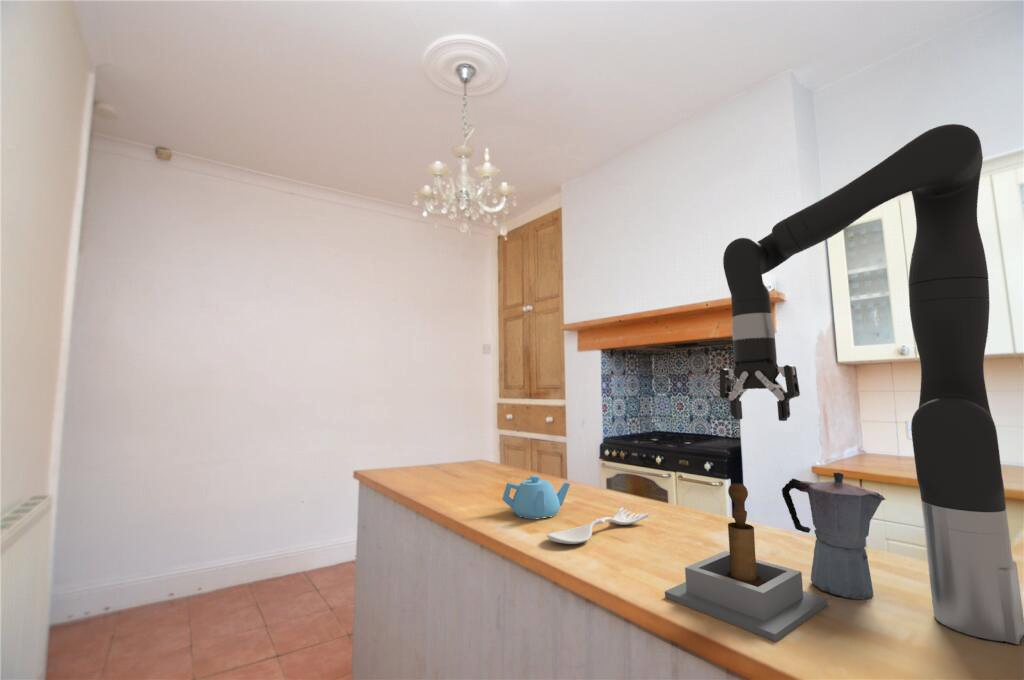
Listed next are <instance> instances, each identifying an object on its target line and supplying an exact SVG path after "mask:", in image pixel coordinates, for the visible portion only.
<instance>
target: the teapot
mask: <svg viewBox="0 0 1024 680" xmlns="http://www.w3.org/2000/svg"><path fill="white" fill-rule="evenodd" d="M540 478H541V476H540V475H535V474H534V475H531V476H530V477H526V479H525V480H523V481H521V482H520V484H518V483H512V482H511V483H510V482H506V485H505V489H504V491H503V495H502V501H503V502H504V503H506V504H507V505H508V507H510V508H511V509H512V511H513V513H514V514H515V515H516V516H517V515H518V516H521V517H526V518H543V517H550V516H553V515H555V514H556V515H558V513H559V511H560V509H561V507H562V506H563V504H564V501H565V499H566V496H567V493H568V490H569V488H570V485H571V483H570V482H563V484H562V485H561V487H560V488H559V490H558V492H556V490H555V488H554V487H553V485H552V483H551V482H550V481H548V480H546V479H545V480H544V479H540ZM511 489H512V490H513V489H514V490H515V493H514V494H513V498H512V497H510V495H511V491H512V490H511ZM556 515H555V516H556ZM518 516H517V517H518ZM521 517H520V518H521Z"/></svg>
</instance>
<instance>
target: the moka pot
mask: <svg viewBox="0 0 1024 680" xmlns="http://www.w3.org/2000/svg"><path fill="white" fill-rule="evenodd" d="M832 474H833V478H834V481H818V482H812V481H806V480H799V479H797V478H791V479H790V480H789V481H788V483H786V484H784V486H783V487H782V488H781V493H782V494H781V495H782V498H783V499H784V503H785V505H786V506H787V510H788V513H789V515H790V516H791V517H790V518H791V520H792V523H793V526H794V528H795V530H797V531H801V532H803V533H808V534H809V533H810V532H811V530H812V529H811V528H810V527H809V526H804V525H802V524H801V521H800V519H799V517H798V514H797V511H796V508H795V504H794V502H793V498H792V495H791V493H790V491H791V490H793V489H795V490H798V492H802V493H807V495H808V500H809V505H810V506H809V507H810V511H811V512H810V513H811V518H812V525H813V527H814V535H815V538H816V539H815V543H814V548H813V558H812V565H811V566H812V567H811V571H810V572H811V573H810V581H811V582H812V584H813V585H814V586H816V587H817V588H818V589H820V590H822V591H824V592H826V593H829V594H832V595H835V596H839V597H842V598H847V599H852V600H867V599H870V598H871V597H872V596H873V595H874V589H873V583H872V577H871V571H870V566H869V561H868V560H869V559H868V554H867V550H866V549H865V547H866V546H867V545H866V538H867V537H869V535H870V534H869V533H870V524H871V520H872V519H873V518H874V516H875V514H876V512H877V510H878V508H879V506H880V505H881V503H882V501H885V500H886V498H885V497H884V495H882V494H880V493H879V492H876V491H872V490H869V489H866V488H865V487H861V486H859V485H854V484H850V483H846V482H844V481H843V480H844V475H845V474H843V473H841V472H837V471H836V472H833V473H832Z"/></svg>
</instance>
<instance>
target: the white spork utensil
mask: <svg viewBox="0 0 1024 680" xmlns="http://www.w3.org/2000/svg"><path fill="white" fill-rule="evenodd" d="M649 516H650V514H649V512H646V513H637V514H636V513H635V512H633V513H631V511H628V510H627V509H624V507H620V508H619V509H618V510H617V511H616V513H615V514H614V515H613V516H612V517H610V516H605V517H604V516H603V517H601V518H595V519H593V521H591V522H588V523H587V524H584V525H581V526H577V527H572V528H568V529H564V530H559V531H554V532H550V533H547V534H546V537H547V538H548V539H549V540H550V541H552V542H554V543H559V544H564V545H576V544H577V545H579V544H581V543H584V542H586V541H588V540H589V539H590V538H591V537H592V535H593V528H594V526H597V525H604V524H605V523H606V522H612V523H613V524H617V525H620V526H628V525H632V524H634V523H637V522H639V521H640V522H641V521H642V520H645V519H646V518H648V517H649Z"/></svg>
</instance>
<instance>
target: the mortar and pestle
mask: <svg viewBox="0 0 1024 680" xmlns="http://www.w3.org/2000/svg"><path fill="white" fill-rule="evenodd" d="M727 494H728V496H729V498H730V499H731V501H732V502H733V505H734V507H733V509H732V511H731V512H732V516H733V519H734V521H735V522H732V521H731V522H729V523H727V530H728V547H729V548H728V549H729V552H730V572H728V573H727V574H726V575H724V576H725V577H728V578H731V579H734V580H737V581H740V582H744V583H747V584H750V585H753V586H756V587H759V586H761V585H763V584H765V582H764V581H763V580H762V579H761V578H760V577H759V576H757V573H756V557H757V556H756V539H755V527H754V526H753V525H751V524H748V523H746V521H747V517H748V511H747V510H745V507H744V504H745V502H746V501H747V498H748V496H749V492H748V489H747V487H746V486H745V485H744V484H743V483H740V482H733V483H732V484H730V485H729V486H728V491H727Z"/></svg>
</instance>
